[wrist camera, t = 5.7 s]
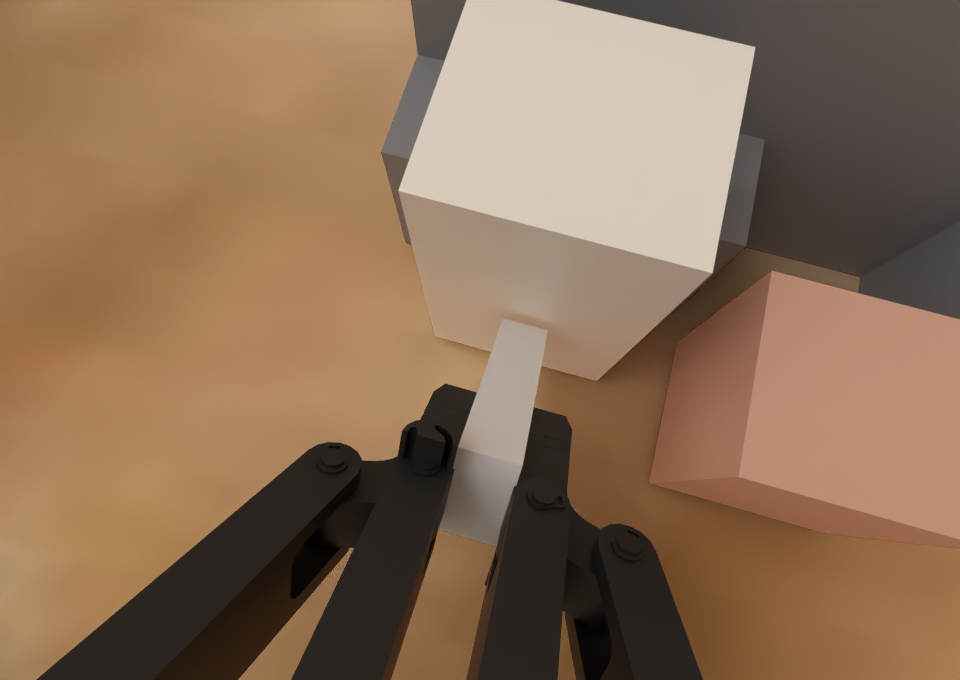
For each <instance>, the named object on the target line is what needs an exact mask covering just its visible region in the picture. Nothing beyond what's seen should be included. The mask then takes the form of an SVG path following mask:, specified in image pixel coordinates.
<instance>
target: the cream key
mask: <svg viewBox="0 0 960 680" xmlns="http://www.w3.org/2000/svg"><path fill="white" fill-rule="evenodd" d="M754 53H755V47H753V46H748V45H744V44H740V43H736V42H732V41H727V40H723V39H719V38H715V37H710V36H706V35H702V34H698V33H693V32H689V31H685V30H681V29H676V28H672V27H668V26H664V25H659V24H655V23H651V22H647V21H643V20H638V19H634V18H630V17H626V16H621V15H617V14H613V13H609V12H604V11H600V10H596V9H592V8H587V7H583V6H579V5H575V4H571V3H566V2H562V1H558V0H466V3H465V6H464V8H463V11H462V14H461V17H460V20H459V22H458V25H457V28H456V31H455V34H454V36H453V39H452V42H451V45H450V48H449V50H448V53H447V56H446V59H445V61H444V64H443V67H442V70H441V73H440V75H439V78H438V81H437V84H436V87H435V89H434V92H433V95H432V98H431V101H430V103H429V106H428V109H427V112H426V114H425V117H424V120H423V123H422V126H421V128H420V131H419V134H418V137H417V140H416V142H415V145H414V148H413V151H412V154H411V156H410V159H409V162H408V165H407V168H406V170H405V173H404V176H403V179H402V181H401V184H400V187H399V190H398V192H399V196H400V200H401V204H402V208H403V212H404V216H405V220H406V224H407V228H408V232H409V236H410V240H411V244H412V248H413V252H414V256H415V260H416V264H417V268H418V272H419V276H420V280H421V284H422V288H423V292H424V296H425V300H426V304H427V308H428V312H429V316H430V320H431V324H432V328H433V332H434V336H435V337H439V338H443V339H446V340H450V341H453V342H457V343H461V344H464V345H468V346H471V347H475V348H479V349H482V350H486V351H489V352H491V351H492V348H493V346H494V343H495V340H496V337H497V334H498V331H499V328H500V326H501V323H502V320H503V318H504V319H508V320H512V321H515V322H519V323H523V324H526V325H530V326H534V327H537V328H541V329H545V330H548V334H547V339H546V344H545V350H544V355H543V360H542V366H544V367H547V368H551V369H554V370H558V371H562V372H565V373H569V374H572V375H576V376H580V377H583V378H587V379H590V380H594V381H597V380H598V379H600V378H601V377H602V376H603V375H604V374H605V373H606V372H607V371H608V370H609V369H610V368H611V367H612V366H614V365H615V364H616V363H617V362H618V361H619V360H620V359H621V358H622V357H623V356H624V355H625V354H626V353H627V352H629V351H630V350H631V349H632V348H633V347H634V346H635V345H636V344H637V343H638V342H639V341H640V340H641V339H642V338H644V337H645V336H646V335H647V334H648V333H649V332H650V331H651V330H652V329H653V328H654V327H655V326H656V325H658V324H659V323H660V322H661V321H662V320H663V319H664V318H665V317H666V316H667V315H668V314H669V313H670V312H671V311H673V310H674V309H675V308H676V307H677V306H678V305H679V304H680V303H681V302H682V301H683V300H684V299H685V298H686V297H688V296H689V295H690V294H691V293H692V292H693V291H694V290H695V289H696V288H697V287H698V286H699V285H700V284H702V283H703V282H704V281H705V280H706V279H707V278H708V277H709V276H710V275H711V274H712V273H713V268H714V263H715V258H716V252H717V247H718V242H719V237H720V231H721V226H722V221H723V216H724V210H725V205H726V200H727V195H728V189H729V184H730V179H731V174H732V168H733V163H734V158H735V153H736V147H737V142H738V137H739V131H740V126H741V121H742V116H743V110H744V105H745V100H746V95H747V89H748V84H749V79H750V74H751V68H752V63H753V58H754Z"/></svg>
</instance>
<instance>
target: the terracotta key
mask: <svg viewBox="0 0 960 680" xmlns="http://www.w3.org/2000/svg"><path fill="white" fill-rule="evenodd" d="M649 483H650V484H654V485H657V486H661V487H664V488H668V489H671V490H675V491H678V492H682V493H685V494H689V495H692V496H696V497H699V498H703V499H706V500H710V501H713V502H717V503H720V504H724V505H727V506H731V507H734V508H738V509H741V510H744V511H748V512H751V513H755V514H758V515H762V516H765V517H769V518H772V519H776V520H779V521H783V522H786V523H790V524H793V525H797V526H800V527H804V528H807V529H811V530H814V531H818V532H821V533H825V534H832V535H841V536H850V537H859V538H868V539H877V540H886V541H895V542H904V543H913V544H922V545H931V546H940V547H949V548H958V549H960V319H956V318H952V317H948V316H944V315H940V314H937V313H933V312H929V311H925V310H921V309H917V308H914V307H910V306H906V305H902V304H898V303H894V302H890V301H887V300H883V299H879V298H875V297H871V296H867V295H864V294H860V293H856V292H852V291H848V290H844V289H840V288H837V287H833V286H829V285H825V284H821V283H817V282H814V281H810V280H806V279H802V278H798V277H794V276H791V275H787V274H783V273H779V272H775V271H771V272H769V273H768V274H767V275H765V276H764V277H763V278H761V279H760V280H759V281H757V282H756V283H755V284H753V285H752V286H751V287H749V288H748V289H747V290H746V291H744V292H743V293H742V294H740V295H739V296H738V297H736V298H735V299H734V300H732V301H731V302H730V303H728V304H727V305H726V306H724V307H723V308H722V309H720V310H719V311H718V312H716V313H715V314H714V315H712V316H711V317H710V318H708V319H707V320H706V321H704V322H703V323H702V324H700V325H699V326H698V327H696V328H695V329H694V330H693V331H691V332H690V333H689V334H687V335H686V336H685V337H683V338H682V339H681V340H679V341H678V342H677V345H676V350H675V355H674V360H673V365H672V370H671V375H670V380H669V385H668V390H667V395H666V400H665V405H664V410H663V415H662V420H661V425H660V430H659V435H658V440H657V445H656V450H655V455H654V460H653V465H652V470H651V475H650V480H649Z"/></svg>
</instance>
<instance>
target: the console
mask: <svg viewBox="0 0 960 680" xmlns="http://www.w3.org/2000/svg"><path fill="white" fill-rule="evenodd" d="M558 1H562V2H566V3H571V4H575V5H579V6H583V7H587V8H592V9H596V10H600V11H604V12H609V13H613V14H617V15H621V16H626V17H630V18H634V19H638V20H643V21H647V22H651V23H655V24H659V25H664V26H668V27H672V28H676V29H681V30H685V31H689V32H693V33H698V34H702V35H706V36H710V37H715V38H719V39H723V40H727V41H732V42H736V43H740V44H744V45H748V46H753V47H755V53H754V58H753V63H752V68H751V74H750V79H749V84H748V89H747V95H746V100H745V105H744V110H743V116H742V121H741V126H740V131H739V137H738V142H737V147H736V153H735V158H734V163H733V168H732V174H731V179H730V184H729V189H728V195H727V200H726V205H725V210H724V216H723V221H722V226H721V231H720V237H719V242H718V247H717V252H716V258H715V263H714V268H713V273H712V274H711V275H710V276H709V277H708V278H707V279H706V280H705V281H704V282H703V283H702V284H700V285H699V286H698V287H697V288H696V289H695V290H694V291H693V292H692V293H691V294H690V295H689V296H688V297H686V298H685V299H684V300H683V301H682V302H681V303H680V304H679V305H678V306H677V307H676V308H675V309H674V310H673V311H671V312H670V313H671V314H673V313H674V312H675V311H676V310H677V309H678V308H679V307H680V306H682V305H683V304H684V303H685V302H686V301H687V300H688V299H689V298H690V297H691V296H692V295H694V294H695V293H696V292H697V291H698V290H699V289H700V288H701V287H702V286H703V285H704V284H706V283H707V282H708V281H709V280H710V279H711V278H712V277H713V276H714V275H715V274H716V273H718V272H719V271H720V270H721V269H722V268H723V267H724V266H725V265H726V264H727V263H729V262H730V261H731V260H732V259H733V258H734V257H735V256H736V255H737V254H738V253H739V252H741V251H742V250H743V249H744V248H745V247H748V248H751V249H755V250H759V251H763V252H767V253H771V254H775V255H779V256H782V257H786V258H790V259H794V260H798V261H802V262H806V263H809V264H813V265H817V266H821V267H825V268H829V269H833V270H837V271H840V272H844V273H848V274H852V275H856V276H860V277H861V278H860V287H859V293H860V294H864V295H867V296H871V297H875V298H879V299H883V300H887V301H890V302H894V303H898V304H902V305H906V306H910V307H914V308H917V309H921V310H925V311H929V312H933V313H937V314H940V315H944V316H948V317H952V318H956V319H960V0H558ZM465 3H466V0H411V5H412V12H413V20H414V28H415V36H416V43H417V51H418V55H417V58H416V61H415V63H414V66H413V69H412V72H411V74H410V77H409V80H408V82H407V85H406V88H405V90H404V93H403V96H402V98H401V101H400V104H399V106H398V109H397V112H396V114H395V117H394V120H393V122H392V125H391V128H390V130H389V133H388V136H387V138H386V141H385V144H384V146H383V149H382V152H381V153H382V156H383V160H384V164H385V167H386V171H387V175H388V178H389V182H390V186H391V189H392V193H393V197H394V201H395V204H396V208H397V212H398V215H399V219H400V223H401V226H402V230H403V234H404V237H405V241H406V243H410V244H411V240H410V236H409V232H408V228H407V224H406V220H405V216H404V212H403V208H402V204H401V200H400V196H399V192H398V190H399V187H400V184H401V181H402V179H403V176H404V173H405V170H406V168H407V165H408V162H409V159H410V156H411V154H412V151H413V148H414V145H415V142H416V140H417V137H418V134H419V131H420V128H421V126H422V123H423V120H424V117H425V114H426V112H427V109H428V106H429V103H430V101H431V98H432V95H433V92H434V89H435V87H436V84H437V81H438V78H439V75H440V73H441V70H442V67H443V64H444V61H445V59H446V56H447V53H448V50H449V48H450V45H451V42H452V39H453V36H454V34H455V31H456V28H457V25H458V22H459V20H460V17H461V14H462V11H463V8H464V6H465Z"/></svg>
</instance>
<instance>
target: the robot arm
mask: <svg viewBox="0 0 960 680" xmlns="http://www.w3.org/2000/svg"><path fill="white" fill-rule="evenodd" d="M547 334H548V330H545V329H541V328H537V327H534V326H530V325H526V324H523V323H519V322H515V321H512V320H508V319H504V318H503V320H502V323H501V326H500V328H499V331H498V334H497V337H496V340H495V343H494V346H493V348H492V351H491V354H490V357H489V360H488V363H487V366H486V368H485V371H484V374H483V377H482V380H481V383H480V386H479V388H478V391H477V393H476V392H473V391H469V390H466V389H462V388H459V387H455V386H452V385H448V384H444V385H443V386H441V387H440V388H438V389H437V390H435V391H434V392H433V394H432V396H431V398H430V401H429V403H428V405H427V407H426V409H425V411H424V414H423V416H422V418H421V420H418V421H414V422H412V423H410V424H408V425H407V426H406V427H405V428H404V429H403V430H402V435H401V441H400V447H399V452H398V456H397V457H395V458H393V459H389V460H385V461H362V459H361V457H360V455H359V454H358V452H357V451H356V450H354V449H353V448H352V447H350V446H348V445H345V444H342V443H332V442H328V443H323V444H319V445H316V446H315V447H313V448H311V449H309V450H308V451H307V452H306V453H304V454H303V455H302V456H301V457H300V458H298V459H297V460H296V461H295V462H294V463H293V464H291V465H290V466H289V467H288V468H287V469H285V470H284V471H283V472H282V473H281V474H280V475H278V476H277V477H276V478H275V479H274V480H272V481H271V482H270V483H269V484H268V485H266V486H265V487H264V488H263V489H262V490H261V491H259V492H258V493H257V494H256V495H255V496H253V497H252V498H251V499H250V500H249V501H248V502H246V503H245V504H244V505H243V506H242V507H240V508H239V509H238V510H237V511H236V512H234V513H233V514H232V515H231V516H230V517H229V518H227V519H226V520H225V521H224V522H223V523H221V524H220V525H219V526H218V527H217V528H216V529H214V530H213V531H212V532H211V533H210V534H208V535H207V536H206V537H205V538H204V539H202V540H201V541H200V542H199V543H198V544H197V545H195V546H194V547H193V548H192V549H191V550H189V551H188V552H187V553H186V554H185V555H184V556H182V557H181V558H180V559H179V560H178V561H176V562H175V563H174V564H173V565H172V566H171V567H169V568H168V569H167V570H166V571H165V572H163V573H162V574H161V575H160V576H159V577H157V578H156V579H155V580H154V581H153V582H152V583H150V584H149V585H148V586H147V587H146V588H144V589H143V590H142V591H141V592H140V593H139V594H137V595H136V596H135V597H134V598H133V599H131V600H130V601H129V602H128V603H127V604H125V605H124V606H123V607H122V608H121V609H120V610H118V611H117V612H116V613H115V614H114V615H112V616H111V617H110V618H109V619H108V620H107V621H105V622H104V623H103V624H102V625H101V626H99V627H98V628H97V629H96V630H95V631H93V632H92V633H91V634H90V635H89V636H88V637H86V638H85V639H84V640H83V641H82V642H80V643H79V644H78V645H77V646H76V647H75V648H73V649H72V650H71V651H70V652H69V653H67V654H66V655H65V656H64V657H63V658H62V659H60V660H59V661H58V662H57V663H56V664H54V665H53V666H52V667H51V668H50V669H48V670H47V671H46V672H45V673H44V674H43V675H41V676H40V677H39V678H38V679H37V680H238V679H239V678H240V677H241V676H242V674H243V673H244V672H245V671H246V670H247V669H248V667H249V666H250V665H251V664H252V663H253V662H254V660H255V659H256V658H257V657H258V656H259V655H260V653H261V652H262V651H263V650H264V649H265V648H266V646H267V645H268V644H269V643H270V642H271V641H272V639H273V638H274V637H275V636H276V635H277V634H278V632H279V631H280V630H281V629H282V628H283V627H284V625H285V624H286V623H287V622H288V621H289V620H290V618H291V617H292V616H293V615H294V614H295V613H296V611H297V610H298V609H299V608H300V607H301V606H302V604H303V603H304V602H305V601H306V600H307V599H308V597H309V596H310V595H311V594H312V593H313V592H314V590H315V589H316V588H317V587H318V586H319V585H320V583H321V582H322V581H323V580H324V579H325V578H326V576H327V575H328V574H329V573H330V572H331V571H332V569H333V568H334V567H335V566H336V565H337V564H338V562H339V561H340V560H341V559H342V558H343V557H344V555H345V554H346V553H347V552H348V550H349V548H354V550H353V552H352V554H351V556H350V558H349V560H348V562H347V564H346V567H345V569H344V571H343V573H342V575H341V577H340V579H339V581H338V583H337V585H336V588H335V590H334V592H333V594H332V596H331V598H330V600H329V602H328V604H327V606H326V608H325V611H324V613H323V615H322V617H321V619H320V621H319V623H318V625H317V627H316V629H315V631H314V634H313V636H312V638H311V640H310V642H309V644H308V646H307V648H306V650H305V652H304V655H303V657H302V659H301V661H300V663H299V665H298V667H297V669H296V671H295V673H294V675H293V678H292V680H391V677H392V674H393V671H394V668H395V665H396V662H397V659H398V656H399V652H400V649H401V646H402V643H403V640H404V637H405V634H406V631H407V628H408V625H409V622H410V619H411V616H412V613H413V610H414V606H415V603H416V600H417V597H418V594H419V591H420V588H421V585H422V582H423V579H424V576H425V573H426V570H427V567H428V563H429V560H430V557H431V554H432V551H433V548H434V544H435V540H436V536H437V532H438V530H441V531H445V532H448V533H451V534H455V535H458V536H461V537H465V538H468V539H471V540H475V541H478V542H481V543H485V544H488V545H491V546H495V547H497V548H496V552H495V555H494V558H493V561H492V564H491V567H490V570H489V573H488V576H487V579H486V582H485V585H486V586H487V587H486V591H485V596H484V601H483V605H482V610H481V615H480V619H479V624H478V629H477V633H476V638H475V642H474V647H473V652H472V656H471V661H470V666H469V670H468V675H467V680H557V677H558V664H559V651H560V638H561V625H562V612H563V611H564V612H565V620H566V625H567V631H568V636H569V642H570V647H571V653H572V658H573V664H574V669H575V675H576V680H703V679H702V676H701V673H700V670H699V668H698V665H697V662H696V660H695V657H694V654H693V651H692V649H691V646H690V643H689V640H688V638H687V635H686V632H685V629H684V627H683V624H682V621H681V618H680V616H679V613H678V610H677V608H676V605H675V602H674V599H673V597H672V594H671V591H670V588H669V586H668V583H667V580H666V577H665V575H664V572H663V569H662V566H661V564H660V561H659V558H658V555H657V553H656V550H655V549H654V547H653V545H652V543H651V542H650V540H648V539H647V538H646V537H645V536H644V535H643V534H642V533H641V532H639V531H637V530H636V529H634V528H632V527H630V526H626V525H622V524H610V525H608V526H606V527H604V528H602V530H601V529H599V528H597V527H596V526H594V525H592V524H590V523H589V522H587V521H586V520H584V519H583V518H581V517H580V516H579V515H578V514H577V513H576V512H575V511H574V509H573V508H572V507H571V505H570V502H569V499H568V497H567V483H568V471H569V459H570V455H569V454H570V447H571V445H570V444H571V435H572V429H571V427H570V425H569V422H568V420H567V418H566V416H562V415H559V414H555V413H552V412H548V411H544V410H541V409H537V408H534V403H535V397H536V392H537V387H538V382H539V376H540V371H541V366H542V360H543V355H544V350H545V344H546V339H547Z"/></svg>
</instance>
